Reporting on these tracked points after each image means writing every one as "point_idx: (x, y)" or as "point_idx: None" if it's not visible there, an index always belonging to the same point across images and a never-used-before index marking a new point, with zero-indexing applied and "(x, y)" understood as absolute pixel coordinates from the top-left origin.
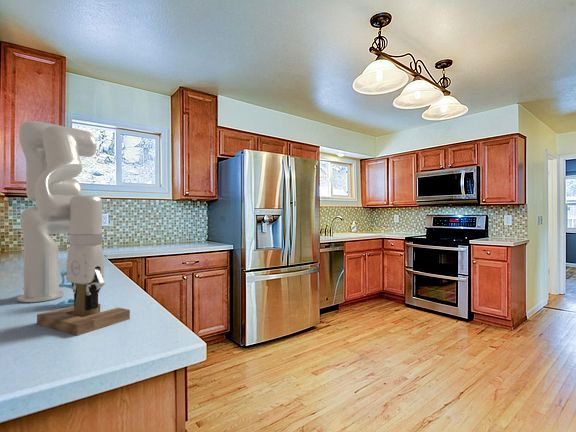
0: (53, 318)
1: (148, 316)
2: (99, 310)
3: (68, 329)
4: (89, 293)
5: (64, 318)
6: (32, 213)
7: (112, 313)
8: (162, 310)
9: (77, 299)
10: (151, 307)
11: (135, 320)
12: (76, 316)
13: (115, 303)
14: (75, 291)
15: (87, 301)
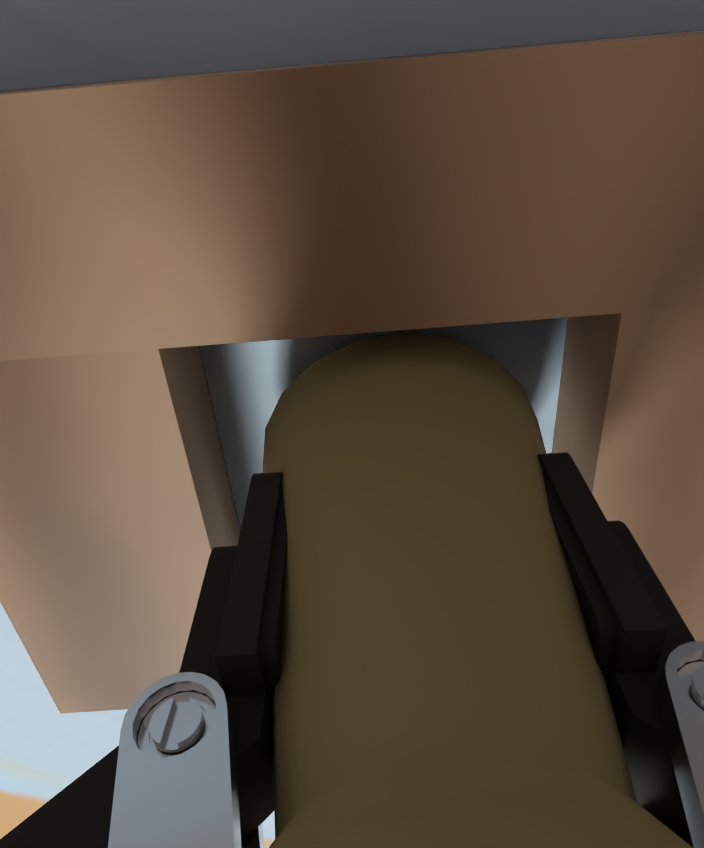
0: (477, 60)
1: (44, 717)
2: None
3: (47, 88)
4: (122, 725)
5: (315, 176)
6: None
7: (45, 592)
8: None
9: (422, 533)
10: (274, 810)
11: (6, 635)
12: (268, 326)
13: None
14: (665, 679)
15: (235, 578)
